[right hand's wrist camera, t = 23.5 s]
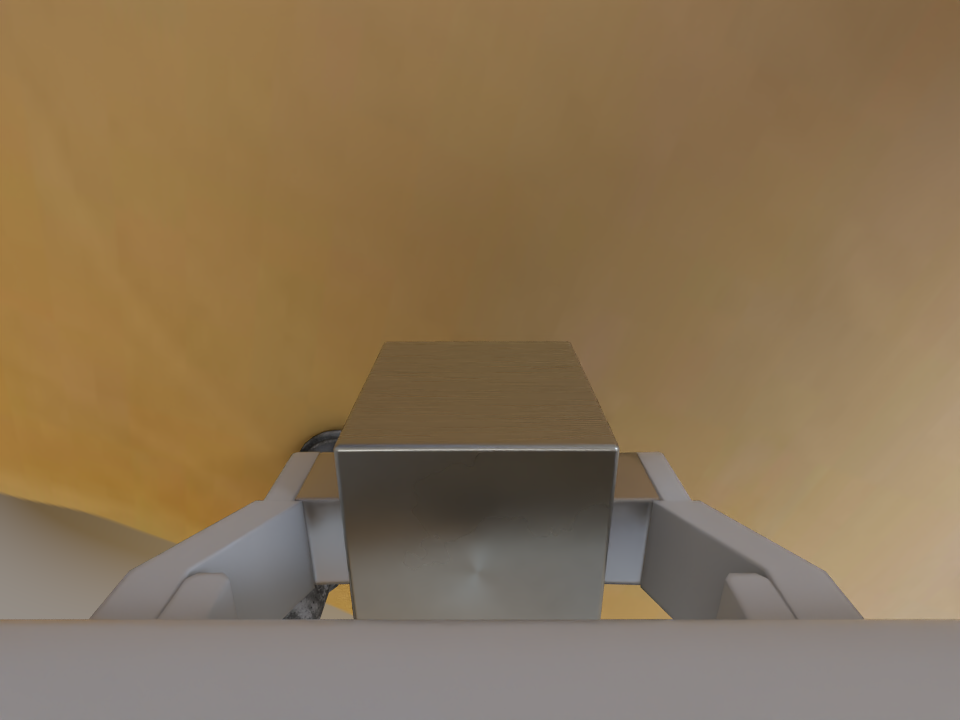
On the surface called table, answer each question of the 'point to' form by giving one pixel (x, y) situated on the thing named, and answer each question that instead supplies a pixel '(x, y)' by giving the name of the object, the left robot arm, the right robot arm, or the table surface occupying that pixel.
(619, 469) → the right robot arm
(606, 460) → the block
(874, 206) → the table surface
